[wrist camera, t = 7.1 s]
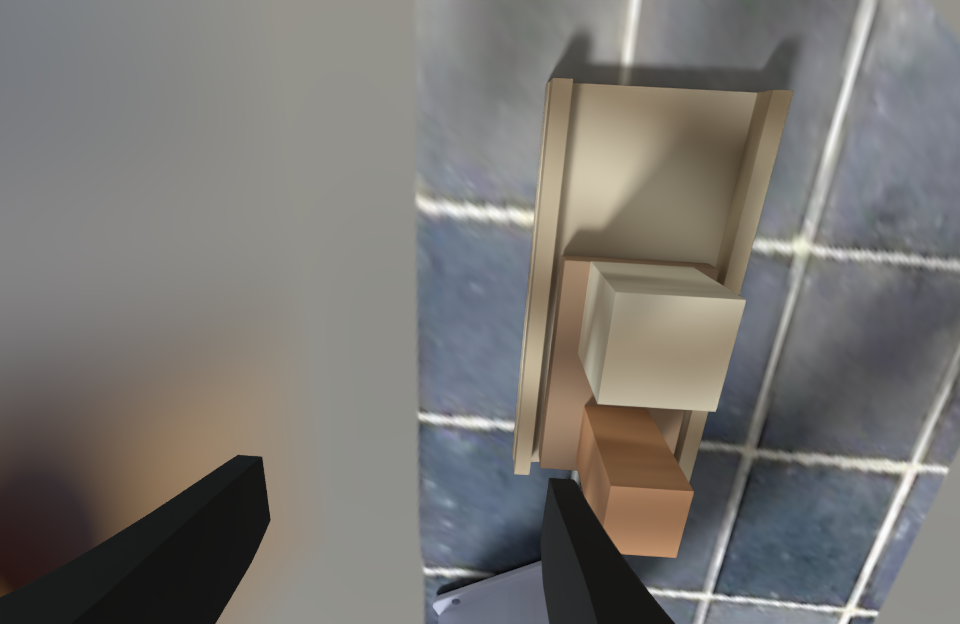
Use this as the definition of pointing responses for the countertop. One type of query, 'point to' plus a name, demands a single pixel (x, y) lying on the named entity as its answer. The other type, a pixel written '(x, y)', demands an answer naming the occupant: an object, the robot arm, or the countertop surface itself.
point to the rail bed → (641, 204)
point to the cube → (657, 335)
